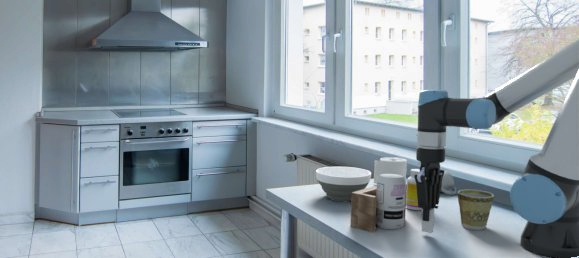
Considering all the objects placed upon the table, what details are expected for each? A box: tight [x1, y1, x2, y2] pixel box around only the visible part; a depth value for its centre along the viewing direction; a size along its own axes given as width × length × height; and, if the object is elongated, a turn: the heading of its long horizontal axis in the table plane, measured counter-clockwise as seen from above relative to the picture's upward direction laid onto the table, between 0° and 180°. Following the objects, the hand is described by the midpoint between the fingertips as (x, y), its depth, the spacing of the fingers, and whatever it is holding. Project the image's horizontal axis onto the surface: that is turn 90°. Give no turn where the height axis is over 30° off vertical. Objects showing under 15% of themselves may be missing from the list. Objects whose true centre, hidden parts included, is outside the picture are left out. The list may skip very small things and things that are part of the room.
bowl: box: [315, 166, 372, 202], centre depth 176 cm, size 20×20×10 cm
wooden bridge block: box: [349, 185, 407, 233], centre depth 147 cm, size 8×18×10 cm, turn 137°
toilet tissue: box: [373, 156, 408, 185], centre depth 200 cm, size 11×12×10 cm
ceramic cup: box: [457, 188, 495, 231], centre depth 146 cm, size 13×10×10 cm
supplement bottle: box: [406, 168, 423, 211], centre depth 164 cm, size 7×7×13 cm
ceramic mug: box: [440, 170, 458, 196], centre depth 187 cm, size 11×8×8 cm
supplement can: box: [376, 173, 407, 230], centre depth 144 cm, size 8×8×15 cm
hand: (427, 231), depth 137 cm, fingers closed
